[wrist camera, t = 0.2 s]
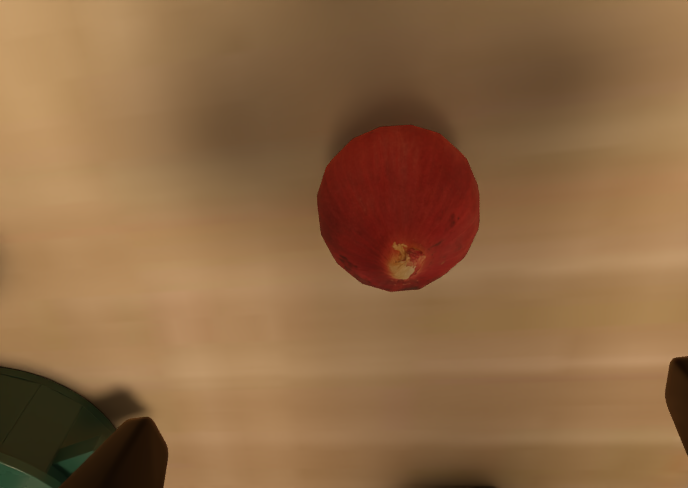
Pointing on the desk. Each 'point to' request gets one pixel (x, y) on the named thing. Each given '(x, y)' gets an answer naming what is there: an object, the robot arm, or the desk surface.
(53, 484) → the lid
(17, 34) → the desk surface
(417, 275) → the onion
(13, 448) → the pot
